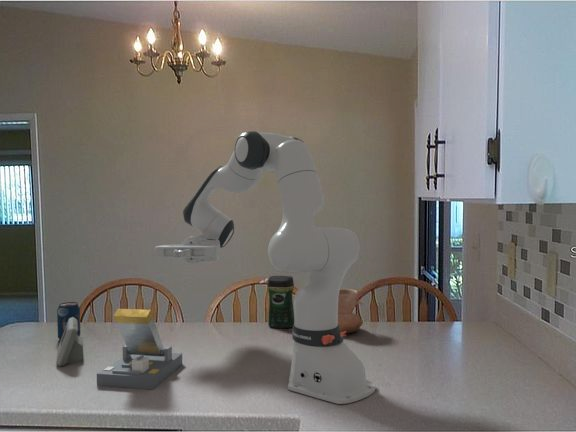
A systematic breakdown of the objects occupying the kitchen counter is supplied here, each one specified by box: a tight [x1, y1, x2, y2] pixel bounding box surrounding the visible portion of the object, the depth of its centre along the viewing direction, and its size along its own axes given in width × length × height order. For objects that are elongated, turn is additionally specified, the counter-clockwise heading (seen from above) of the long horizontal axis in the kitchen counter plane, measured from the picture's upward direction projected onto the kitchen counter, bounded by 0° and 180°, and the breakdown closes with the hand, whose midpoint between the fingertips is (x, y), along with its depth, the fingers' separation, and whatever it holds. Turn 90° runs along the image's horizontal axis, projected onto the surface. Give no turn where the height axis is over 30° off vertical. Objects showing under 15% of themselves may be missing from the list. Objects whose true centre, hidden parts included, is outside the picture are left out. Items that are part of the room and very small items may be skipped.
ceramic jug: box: [338, 288, 365, 335], centre depth 163 cm, size 18×14×14 cm
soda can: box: [56, 301, 81, 341], centre depth 157 cm, size 7×7×12 cm
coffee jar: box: [266, 275, 295, 329], centre depth 170 cm, size 10×8×19 cm
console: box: [96, 344, 183, 390], centre depth 124 cm, size 18×15×6 cm
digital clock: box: [55, 317, 84, 367], centre depth 138 cm, size 16×9×11 cm, turn 13°
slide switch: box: [132, 355, 149, 373], centre depth 118 cm, size 3×3×4 cm
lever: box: [113, 308, 165, 356], centre depth 123 cm, size 3×10×16 cm
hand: (177, 254), depth 139 cm, fingers closed
